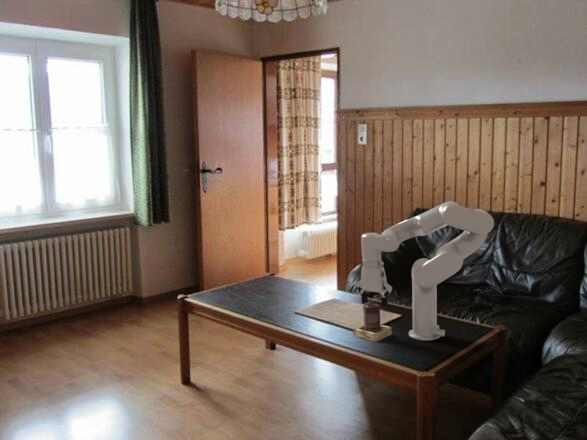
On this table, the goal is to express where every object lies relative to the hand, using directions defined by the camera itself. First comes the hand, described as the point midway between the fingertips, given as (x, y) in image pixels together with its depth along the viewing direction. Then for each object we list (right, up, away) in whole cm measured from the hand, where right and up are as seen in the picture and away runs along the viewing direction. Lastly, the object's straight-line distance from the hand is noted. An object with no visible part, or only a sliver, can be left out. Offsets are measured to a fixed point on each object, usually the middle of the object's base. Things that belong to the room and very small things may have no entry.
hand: (374, 304), depth 246 cm
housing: (-1, -13, +2) cm, 13 cm away
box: (-1, -12, +2) cm, 13 cm away
